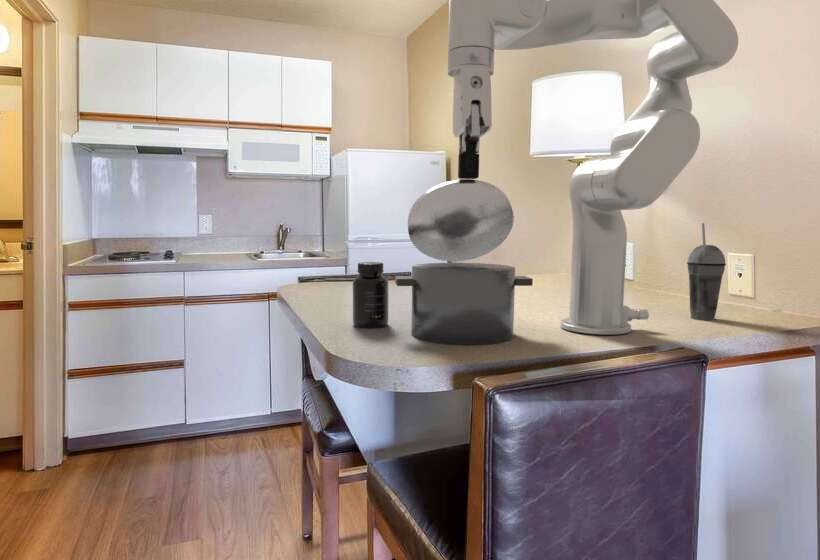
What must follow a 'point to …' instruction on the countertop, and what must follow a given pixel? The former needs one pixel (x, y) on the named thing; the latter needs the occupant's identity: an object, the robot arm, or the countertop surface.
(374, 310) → the supplement bottle
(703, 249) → the beverage cup
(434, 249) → the lid
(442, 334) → the cooker pot
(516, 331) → the countertop surface
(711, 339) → the countertop surface
